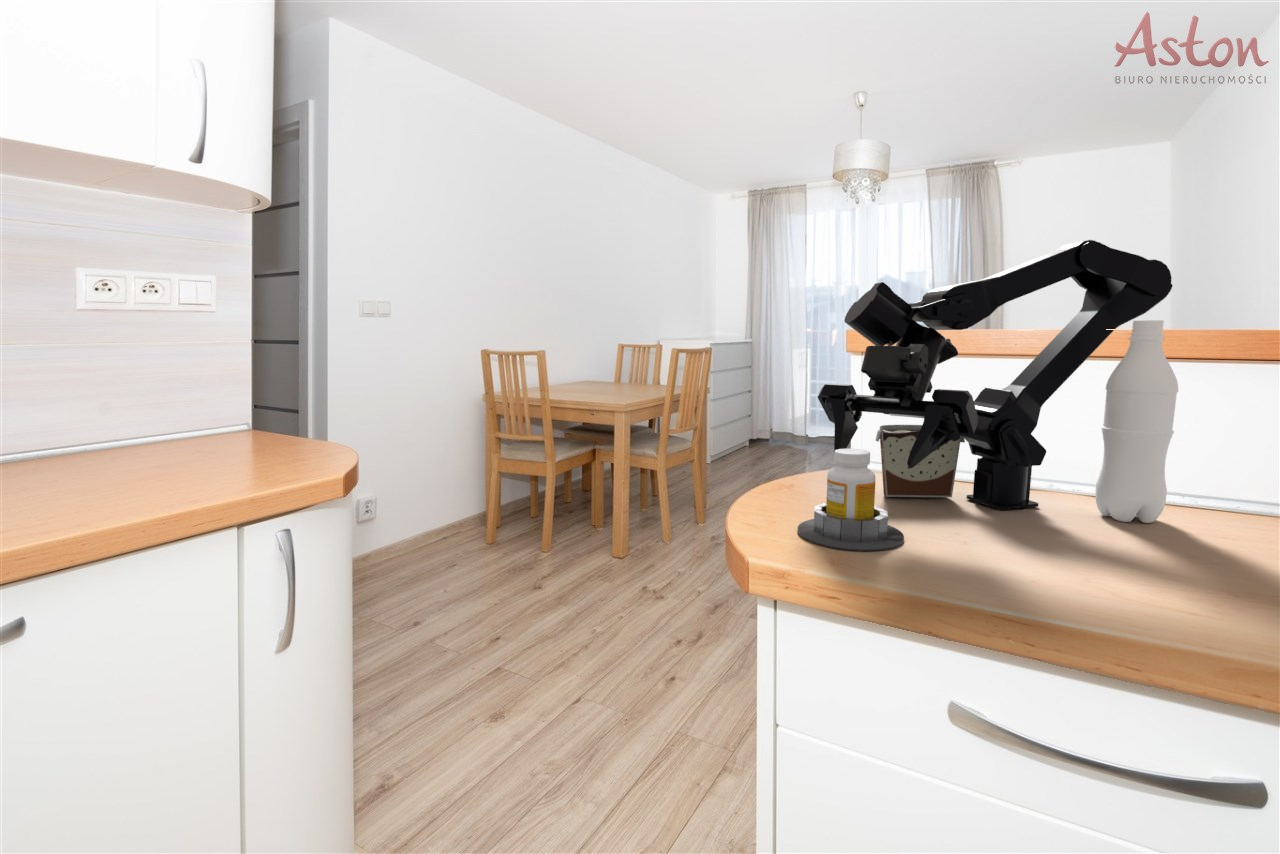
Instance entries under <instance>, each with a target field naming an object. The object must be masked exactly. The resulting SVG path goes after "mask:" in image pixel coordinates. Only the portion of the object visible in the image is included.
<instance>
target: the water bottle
mask: <svg viewBox="0 0 1280 854" xmlns="http://www.w3.org/2000/svg"><path fill="white" fill-rule="evenodd" d="M1164 323H1165V321H1164V320H1162V319H1159V320H1158V319H1157V320H1132V327H1131V328H1132V332H1130V337H1128V339H1127V340H1128V341H1130V343H1129V347H1128V349H1127V352H1126V353H1125V355H1124V356H1123V357H1122V359H1121V360H1120V362H1119V363H1118V364H1117V365H1116V367H1115V368H1114V370H1113V371H1112V373H1111V374H1110V376H1109V378H1108V379H1107V382H1106V385H1105V390H1106V394H1105V404H1104V412H1103V413H1104V415H1103V425H1102V426H1101V432H1102V439H1103V457H1102V464H1101V469H1100V472H1099V475H1098V478H1097V480H1096V483H1095V492H1094V493H1095V496H1094V497H1095V503H1096V506H1097V509H1098V511H1099V513H1100V514H1101V515H1102V516H1104V517H1110V516H1111V517H1112V519H1114V520H1116V521H1119V522H1123V523H1128V522H1129V523H1130V522H1132V520H1133V519H1134V518H1135V517H1137V519H1139V520H1140V522H1142V523H1143V524H1151V523H1155V522H1156V520H1158V518H1159V517H1160V516H1161V515H1162V513H1163V511H1164V509H1165V506H1166V503H1167V493H1168V489H1167V484H1166V472H1165V471H1166V470H1165V469H1166V460H1167V454H1168V450H1169V446H1170V443H1171V440H1172V437H1173V435H1174V433H1175V431H1174V430H1173V427H1174V418H1175V411H1176V402H1177V395H1178V392H1179V381H1178V379H1177V377H1176V375H1175V372H1174V370H1173V369H1172V367H1171V364H1170V363H1169V361H1168V359H1167V357H1166V356H1165V353H1164V350H1163V349H1164V348H1163V341H1166V338H1165V337H1164V336H1163V335H1165V334H1164V331H1163V330H1164V326H1165V325H1164Z"/></svg>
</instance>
